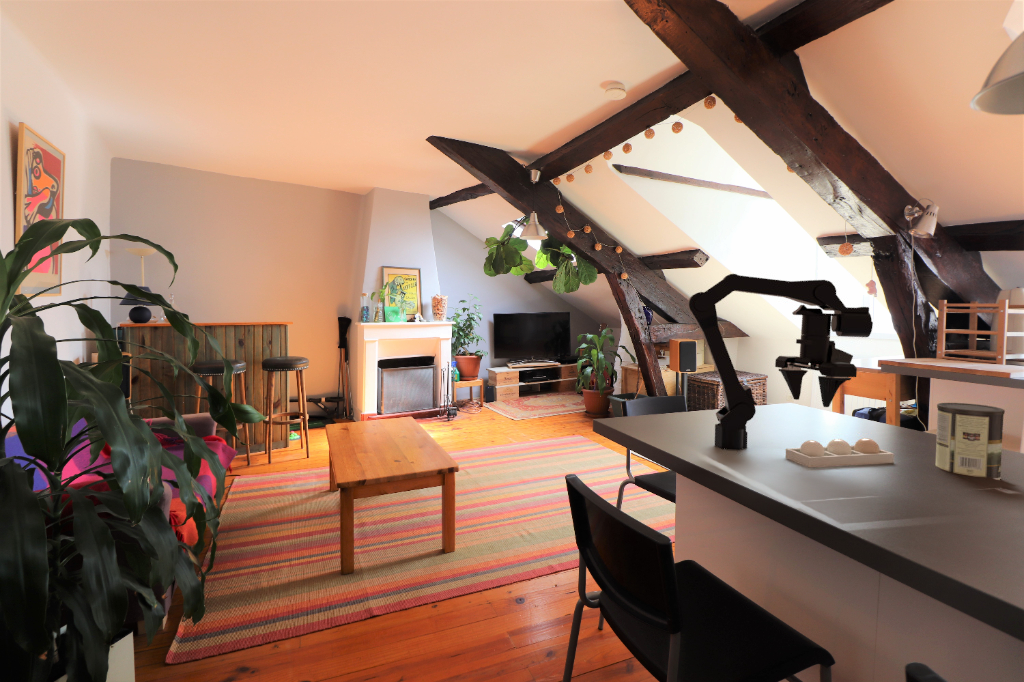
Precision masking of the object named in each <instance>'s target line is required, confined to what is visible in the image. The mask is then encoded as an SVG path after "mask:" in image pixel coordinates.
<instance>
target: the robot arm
mask: <svg viewBox="0 0 1024 682" xmlns="http://www.w3.org/2000/svg"><path fill="white" fill-rule="evenodd" d="M733 292H740V293H748V294H756V295H763V296H769V297H770V296H772V297H781V298H785V299H788V300H792V301H794V302H796V303H797V302H798V303H801V304H800V305H799V307H798V308H797V309H795V310H794V311H793V312H792V315H794V316H801V317H802V318H801V330H800V331H801V332H800V338H796V341H795V343H796V344H799V345H800V346H799V356H798V355H797V356H796V355H779V356H778V357H776V358H775V364H774V367H775V368H778V371H779V372H780V373H781V375H782V377H783V379H784V381H785V383H786V385H787V386H788V388H789V391H790V394H791V396H792V398H793V400H796V401H797V400H798V401H799V400H800V396H801V393H802V392H801V391H802V384H803V377H804V376H805V375H807V373H808V372H809V371H808V370H810V371H811V370H812V371H817V372H819V373H820V375H817V376H818V377H817V378H818V384H819V390H820V396H821V397H820V398H821V402H822V406H823V408H829V407H830V406H831V403H832V402H833V399H834V397H835V396H836V394H837V393H838V390H839V389H840V387H841V385H842V384H844V383H845V382H846V381H851V380H852V378H857V373H858V368H857V366H856V365H855V364H854V363H852V361H853V357H854V355H853V354H851V353H849V352H846V351H844V350H843V349H838V348H836V342H835V340H831V331H832V333H833V332H834V333H835V334H836V336H837V337H842V338H843V337H845V338H847V337H848V338H855V337H856V338H869V337H870V335H871V334H872V332H873V327H874V326H873V324H874V323H873V321H872V314H871V313H870V307H869V306H858V307H846V305H845V304H844V302H843V301H842V300H841V299H840V297H839V296H838V295H837V289H836V287H835V285H834V284H833V282H831V281H830V280H826V279H814V280H812V279H810V280H796V281H795V280H792V281H791V280H790V281H789V280H781V279H772V278H765V277H764V278H762V277H756V276H755V277H754V276H745V275H739V274H738V273H730V274H728V275H725V276H724V277H723V279H722V280H720V281H719V282H717V283H715V284H714V285H713V286H711V287H710V288H708V289H707V290H705V291H700V292H696V293H694V294H692V295H691V296H690V297H689V299H688V300H687V304H686V305H687V310H688V312H689V313H690V315H691V317H692V318H693V319H694V322H695V323H696V325H697V326H698V327H699V329H700V330H701V333H702V335H703V338H704V340H705V342H706V345H707V347H708V350H709V353H710V356H711V359H712V361H713V364H714V366H715V369H716V371H717V374H718V376H719V380H720V382H721V386H722V394H723V401H724V406H722V408H720V409H718V411H716V413H715V416H716V418H717V421H718V423H715V424H714V447H716V448H718V449H721V450H729V451H730V450H731V451H741V450H743V449H746V448H748V431H747V423H748V421H750V420H752V419H753V418H754V416H755V414H756V412H757V411H756V406H757V405H758V403H757V402H756V401H755V399H754V397H753V396H754V395H753V391H752V388H751V387H750V386H749V385H747V384H744V385H742V383H741V382H740V380H739V377H738V375H737V372H736V370H735V367H734V364H733V362H732V359H731V356H730V354H729V351H728V349H727V345H726V343H725V341H724V337H723V336H722V333H721V330H720V327H719V322H718V321H719V320H718V314H717V313H718V312H717V307H716V304H718V303H719V302H721V301H722V300H724V299H725V298H727V296H729V295H730V294H732V293H733ZM806 305H807V306H811V308H810V307H807V306H806ZM816 306H817V307H818V308H816ZM812 307H815V308H812ZM823 310H824V311H830V312H831V311H832V312H833V313H827V312H826V313H824V312H823ZM806 369H807V370H806Z"/></svg>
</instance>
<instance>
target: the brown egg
mask: <svg viewBox="0 0 1024 682" xmlns="http://www.w3.org/2000/svg"><path fill="white" fill-rule="evenodd" d="M854 445H855V446H854V449H855V451H857V452H860V453H863V454H876V453H879V452H880V449H881V448H880V445H879V444H878V442H876V441H875V440H873V439H871V438H867V437H865V438H860V439H858V440H857V441H856V442H855V444H854Z"/></svg>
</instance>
